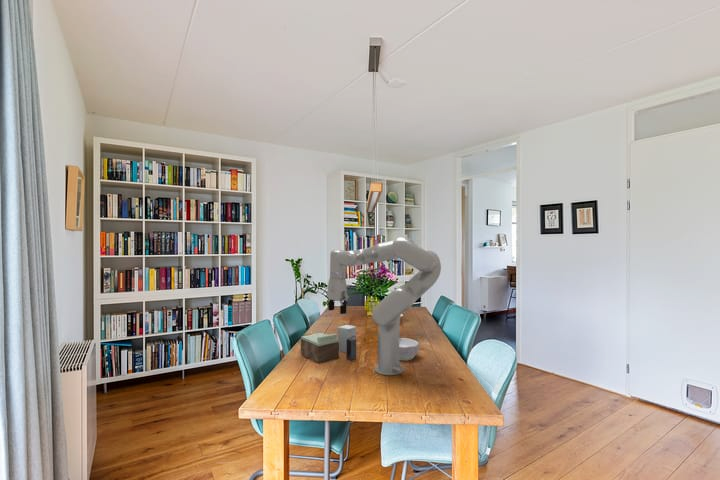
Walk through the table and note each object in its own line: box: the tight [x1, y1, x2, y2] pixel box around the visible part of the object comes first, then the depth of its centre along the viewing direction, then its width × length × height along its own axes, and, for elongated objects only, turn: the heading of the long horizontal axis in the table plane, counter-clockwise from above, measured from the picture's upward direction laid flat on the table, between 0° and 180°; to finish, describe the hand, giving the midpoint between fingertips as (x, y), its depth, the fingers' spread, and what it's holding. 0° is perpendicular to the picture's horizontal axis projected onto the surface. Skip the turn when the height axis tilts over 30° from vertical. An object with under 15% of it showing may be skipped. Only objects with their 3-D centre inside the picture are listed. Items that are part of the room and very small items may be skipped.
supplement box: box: [337, 324, 357, 354], centre depth 186 cm, size 7×7×13 cm
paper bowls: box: [399, 337, 420, 362], centre depth 175 cm, size 15×15×8 cm
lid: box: [300, 332, 339, 346], centre depth 175 cm, size 16×12×4 cm
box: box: [300, 333, 340, 365], centre depth 178 cm, size 22×12×8 cm, turn 39°
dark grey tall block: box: [346, 338, 357, 362], centre depth 172 cm, size 3×3×10 cm
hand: (337, 311), depth 166 cm, fingers open, 9 cm apart
